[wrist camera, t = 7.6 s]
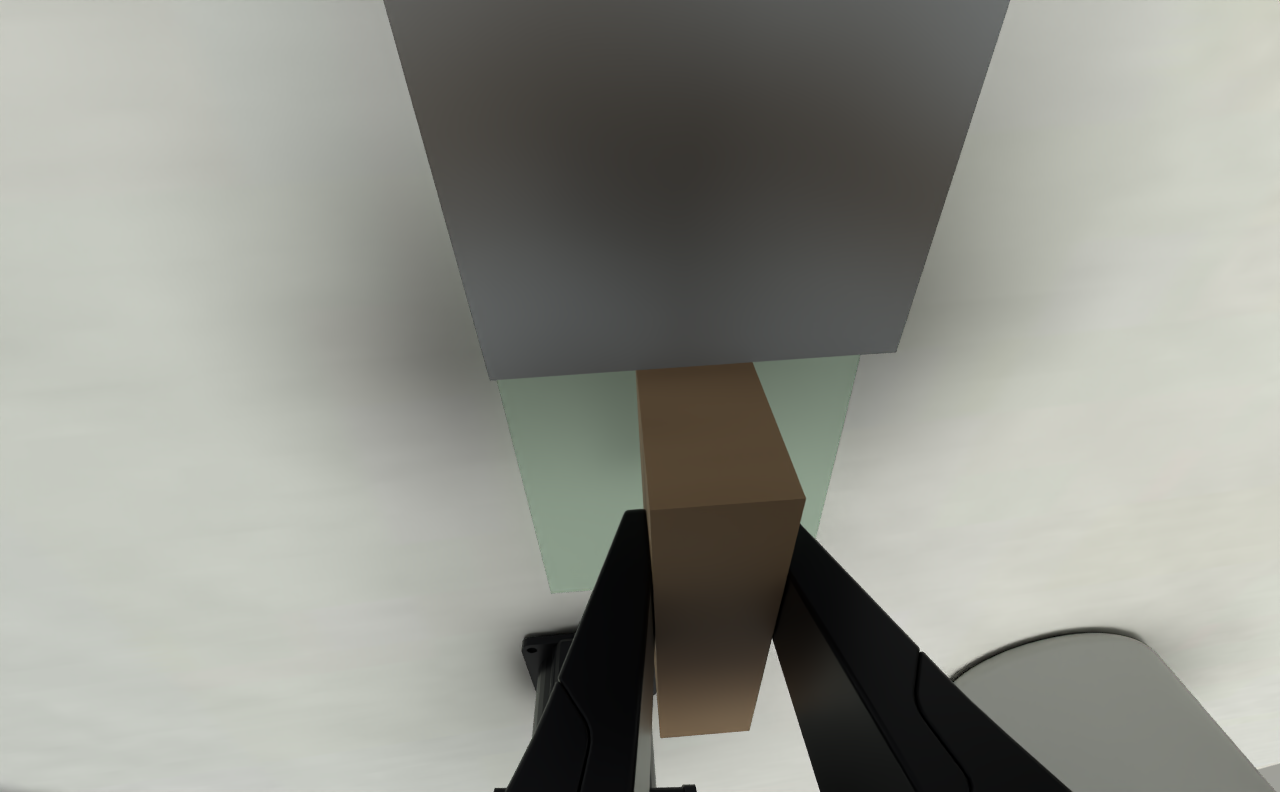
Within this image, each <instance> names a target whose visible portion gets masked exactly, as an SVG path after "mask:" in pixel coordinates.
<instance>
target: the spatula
mask: <svg viewBox="0 0 1280 792" xmlns="http://www.w3.org/2000/svg"><path fill="white" fill-rule="evenodd" d="M383 1H384V4H385V8H386V11H387V15H388V18H389V22H390V26H391V29H392V33H393V36H394V40H395V43H396V47H397V51H398V54H399V58H400V61H401V65H402V68H403V72H404V75H405V79H406V83H407V86H408V90H409V93H410V97H411V100H412V104H413V108H414V111H415V115H416V118H417V122H418V125H419V129H420V133H421V136H422V140H423V143H424V147H425V150H426V154H427V158H428V161H429V165H430V168H431V172H432V175H433V179H434V183H435V186H436V190H437V193H438V197H439V200H440V204H441V207H442V211H443V215H444V218H445V222H446V225H447V229H448V232H449V236H450V240H451V243H452V247H453V250H454V254H455V257H456V261H457V265H458V268H459V272H460V275H461V279H462V282H463V286H464V290H465V293H466V297H467V300H468V304H469V307H470V311H471V315H472V318H473V322H474V325H475V329H476V332H477V336H478V339H479V343H480V347H481V350H482V354H483V357H484V361H485V364H486V368H487V372H488V375H489V379H490V381H491V380H505V379H519V378H534V377H548V376H562V375H577V374H591V373H605V372H620V371H634V370H635V372H636V389H637V406H638V424H639V441H640V458H641V475H642V493H643V509H645V510H646V515H647V525H648V536H649V546H650V557H651V567H652V582H653V602H654V622H655V655H654V665H655V678H656V690H657V703H658V715H659V727H660V738H668V737H680V736H692V735H703V734H715V733H727V732H739V731H749V730H750V726H751V722H752V718H753V713H754V709H755V705H756V701H757V697H758V693H759V689H760V685H761V681H762V677H763V673H764V669H765V665H766V660H767V656H768V652H769V648H770V644H771V640H772V636H773V632H774V628H775V624H776V620H777V616H778V612H779V607H780V603H781V599H782V595H783V591H784V587H785V583H786V579H787V575H788V571H789V567H790V563H791V559H792V554H793V550H794V546H795V542H796V538H797V534H798V530H799V526H800V522H801V518H802V514H803V510H804V506H805V501H806V497H805V494H804V492H803V489H802V486H801V484H800V481H799V479H798V476H797V474H796V471H795V469H794V466H793V464H792V461H791V458H790V456H789V453H788V451H787V448H786V446H785V443H784V441H783V438H782V436H781V433H780V431H779V428H778V425H777V423H776V420H775V418H774V415H773V413H772V410H771V408H770V405H769V403H768V400H767V398H766V395H765V392H764V390H763V387H762V385H761V382H760V380H759V377H758V375H757V372H756V370H755V367H754V364H753V362H763V361H777V360H792V359H806V358H820V357H835V356H849V355H863V354H878V353H892V352H896V351H897V348H898V345H899V342H900V339H901V335H902V332H903V329H904V326H905V323H906V320H907V317H908V314H909V311H910V308H911V305H912V302H913V298H914V295H915V292H916V289H917V286H918V283H919V280H920V277H921V274H922V271H923V268H924V265H925V261H926V258H927V255H928V252H929V249H930V246H931V243H932V240H933V237H934V234H935V231H936V227H937V224H938V221H939V218H940V215H941V212H942V209H943V206H944V203H945V200H946V197H947V194H948V190H949V187H950V184H951V181H952V178H953V175H954V172H955V169H956V166H957V163H958V160H959V157H960V153H961V150H962V147H963V144H964V141H965V138H966V135H967V132H968V129H969V126H970V123H971V119H972V116H973V113H974V110H975V107H976V104H977V101H978V98H979V95H980V92H981V89H982V86H983V82H984V79H985V76H986V73H987V70H988V67H989V64H990V61H991V58H992V55H993V52H994V49H995V45H996V42H997V39H998V36H999V33H1000V30H1001V27H1002V24H1003V21H1004V18H1005V15H1006V11H1007V8H1008V5H1009V2H1010V0H383Z"/></svg>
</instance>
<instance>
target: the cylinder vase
mask: <svg viewBox="0 0 1280 792" xmlns="http://www.w3.org/2000/svg"><path fill="white" fill-rule="evenodd" d="M953 683H954V684H955V685H956V686H957V687H958V688H959V689H960V690H961V691H962V692H963V693H964V694H965V695H966V696H967V697H968V698H969V699H970V700H971V701H972V702H974V703H975V704H976V705H977V706H978V707H979V708H980V709H981V710H982V711H983V712H984V713H985V714H987V715H988V716H989V717H990V718H991V719H992V720H993V721H994V722H995V723H996V724H997V725H999V726H1000V727H1001V728H1002V729H1003V730H1004V731H1005V732H1006V733H1007V734H1008V735H1010V736H1011V737H1012V738H1013V739H1014V740H1015V741H1016V742H1017V743H1019V744H1020V745H1021V746H1022V747H1023V748H1024V749H1025V750H1026V751H1028V752H1029V753H1030V754H1031V755H1032V756H1033V757H1034V758H1035V759H1037V760H1038V761H1039V762H1040V763H1041V764H1042V765H1043V766H1044V767H1046V768H1047V769H1048V770H1049V771H1050V772H1051V773H1052V774H1053V775H1055V776H1056V777H1057V778H1058V779H1059V780H1060V781H1061V782H1062V783H1064V784H1065V785H1066V786H1067V787H1068V788H1069V789H1070V790H1071V791H1073V792H1276V791H1275V790H1274V789H1273V788H1272V787H1271V785H1270V784H1269V783H1268V782H1267V781H1266V780H1265V778H1264V777H1263V776H1262V775H1261V774H1260V773H1259V772H1258V770H1257V769H1256V768H1255V767H1254V766H1253V764H1252V763H1251V762H1250V761H1249V760H1248V759H1247V757H1246V756H1245V755H1244V754H1243V753H1242V752H1241V750H1240V749H1239V748H1238V747H1237V746H1236V745H1235V744H1234V742H1233V741H1232V740H1231V739H1230V738H1229V737H1228V735H1227V734H1226V733H1225V732H1224V731H1223V730H1222V728H1221V727H1220V726H1219V725H1218V724H1217V723H1216V721H1215V720H1214V719H1213V718H1212V717H1211V716H1210V714H1209V713H1208V712H1207V711H1206V710H1205V709H1204V707H1203V706H1202V705H1201V704H1200V703H1199V702H1198V701H1197V699H1196V698H1195V697H1194V696H1193V695H1192V694H1191V692H1190V691H1189V690H1188V689H1187V688H1186V687H1185V685H1184V684H1183V683H1182V682H1181V681H1180V680H1179V678H1178V677H1177V676H1176V675H1175V674H1174V673H1173V671H1172V670H1171V669H1170V668H1169V667H1168V666H1167V665H1166V663H1165V662H1164V661H1163V660H1162V659H1161V658H1160V656H1159V655H1158V654H1157V653H1156V652H1155V651H1154V650H1153V649H1151V648H1150V647H1149V646H1147V645H1145V644H1144V643H1142V642H1140V641H1138V640H1135V639H1133V638H1129V637H1126V636H1122V635H1116V634H1108V633H1081V634H1071V635H1064V636H1058V637H1052V638H1048V639H1043V640H1039V641H1035V642H1032V643H1028V644H1025V645H1022V646H1019V647H1016V648H1013V649H1010V650H1008V651H1005V652H1003V653H1000V654H998V655H996V656H993V657H991V658H989V659H987V660H985V661H983V662H981V663H980V664H978V665H976V666H974V667H973V668H971V669H970V670H968V671H967V672H965V673H964V674H963V675H961V676H960V677H959V678H958V679H957V680H955V681H954V682H953Z"/></svg>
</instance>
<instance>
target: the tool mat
mask: <svg viewBox="0 0 1280 792" xmlns="http://www.w3.org/2000/svg"><path fill="white" fill-rule="evenodd" d="M859 359H860V355H849V356H835V357H820V358H806V359H792V360H777V361H763V362H753V364H754V367H755V370H756V372H757V375H758V377H759V380H760V382H761V385H762V387H763V390H764V392H765V395H766V398H767V400H768V403H769V405H770V408H771V410H772V413H773V415H774V418H775V420H776V423H777V425H778V428H779V431H780V433H781V436H782V438H783V441H784V443H785V446H786V448H787V451H788V453H789V456H790V458H791V461H792V464H793V466H794V469H795V471H796V474H797V476H798V479H799V481H800V484H801V486H802V489H803V492H804V494H805V497H806V501H805V506H804V510H803V514H802V518H801V522H800V524H801V525H802V526H803V527H804V528H805V529H806V530H807V531H808V532H809V533H810V534H811V535H812V536H813V537H814V538H815V539H816V535H817V531H818V527H819V522H820V518H821V514H822V510H823V506H824V502H825V498H826V494H827V490H828V486H829V482H830V477H831V473H832V469H833V465H834V461H835V457H836V453H837V449H838V445H839V441H840V437H841V433H842V428H843V424H844V420H845V416H846V412H847V408H848V404H849V400H850V396H851V392H852V388H853V383H854V379H855V375H856V371H857V367H858V363H859ZM497 383H498V387H499V391H500V395H501V399H502V403H503V406H504V410H505V414H506V418H507V422H508V426H509V430H510V434H511V438H512V442H513V446H514V450H515V453H516V457H517V461H518V465H519V469H520V473H521V477H522V481H523V485H524V489H525V493H526V496H527V500H528V504H529V508H530V512H531V516H532V520H533V524H534V528H535V532H536V536H537V540H538V543H539V547H540V551H541V555H542V559H543V563H544V567H545V571H546V575H547V579H548V583H549V587H550V590H551V593H564V592H576V591H588V590H593V589H594V586H595V584H596V581H597V579H598V576H599V574H600V571H601V569H602V566H603V564H604V561H605V559H606V556H607V554H608V551H609V549H610V546H611V544H612V541H613V539H614V536H615V534H616V531H617V529H618V526H619V524H620V521H621V519H622V516H623V514H624V512H625V511H626V510H632V509H643V493H642V475H641V458H640V441H639V424H638V406H637V389H636V372H635V370H634V371H620V372H605V373H591V374H577V375H562V376H548V377H534V378H519V379H505V380H497Z"/></svg>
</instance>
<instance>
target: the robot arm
mask: <svg viewBox="0 0 1280 792" xmlns="http://www.w3.org/2000/svg"><path fill="white" fill-rule="evenodd" d="M772 639H773V642H774V645H775V649H776V652H777V655H778V658H779V661H780V665H781V668H782V671H783V674H784V677H785V681H786V684H787V687H788V690H789V693H790V697H791V700H792V703H793V706H794V709H795V713H796V716H797V719H798V722H799V726H800V729H801V732H802V735H803V738H804V742H805V745H806V748H807V751H808V754H809V758H810V761H811V764H812V767H813V770H814V774H815V777H816V780H817V783H818V786H819V790H820V792H1073V791H1071V790H1070V789H1069V788H1068V787H1067V786H1066V785H1065V784H1064V783H1062V782H1061V781H1060V780H1059V779H1058V778H1057V777H1056V776H1055V775H1053V774H1052V773H1051V772H1050V771H1049V770H1048V769H1047V768H1046V767H1044V766H1043V765H1042V764H1041V763H1040V762H1039V761H1038V760H1037V759H1035V758H1034V757H1033V756H1032V755H1031V754H1030V753H1029V752H1028V751H1026V750H1025V749H1024V748H1023V747H1022V746H1021V745H1020V744H1019V743H1017V742H1016V741H1015V740H1014V739H1013V738H1012V737H1011V736H1010V735H1008V734H1007V733H1006V732H1005V731H1004V730H1003V729H1002V728H1001V727H1000V726H999V725H997V724H996V723H995V722H994V721H993V720H992V719H991V718H990V717H989V716H988V715H987V714H985V713H984V712H983V711H982V710H981V709H980V708H979V707H978V706H977V705H976V704H975V703H974V702H972V701H971V700H970V699H969V698H968V697H967V696H966V695H965V694H964V693H963V692H962V691H961V690H960V689H959V688H958V687H957V686H956V685H955V684H954V683H953V682H952V681H951V680H950V679H949V678H948V677H947V676H946V675H945V674H944V673H943V672H942V671H941V670H940V669H939V667H938V666H937V665H936V664H935V663H934V662H933V661H932V660H931V659H930V658H929V657H928V656H927V655H926V654H925V653H924V652H919V651H920V649H919V647H918V646H917V645H916V644H915V643H914V642H913V641H912V639H911V638H910V637H909V636H908V635H907V634H906V633H905V632H904V631H903V630H902V629H901V628H900V627H899V626H898V625H897V624H896V623H895V622H894V621H893V620H892V619H891V618H890V617H889V616H888V614H887V613H886V612H885V611H884V610H883V609H882V608H881V607H880V606H879V605H878V604H877V603H876V602H875V601H874V600H873V599H872V598H871V597H870V596H869V595H868V594H867V593H866V592H865V590H864V589H863V588H862V587H861V586H860V585H859V584H858V583H857V582H856V581H855V580H854V579H853V578H852V577H851V576H850V575H849V574H848V573H847V572H846V571H845V570H844V569H843V568H842V566H841V565H840V564H839V563H838V562H837V561H836V560H835V559H834V558H833V557H832V556H831V555H830V554H829V553H828V552H827V551H826V550H825V549H824V548H823V547H822V546H821V545H820V544H819V542H818V541H817V540H816V539H815V538H814V537H813V536H812V535H811V534H810V533H809V532H808V531H807V530H806V529H805V528H804V527H803V526H802V525H801V524H800V526H799V530H798V534H797V538H796V542H795V546H794V550H793V554H792V559H791V563H790V567H789V571H788V575H787V579H786V583H785V587H784V591H783V595H782V599H781V603H780V607H779V612H778V616H777V620H776V624H775V628H774V632H773V636H772ZM522 654H523V656H524V659H525V662H526V665H527V668H528V670H529V673H530V676H531V679H532V682H533V685H534V687H535V690H536V701H535V712H534V723H533V734H532V739H531V741H530V743H529V745H528V747H527V749H526V751H525V753H524V755H523V757H522V759H521V761H520V763H519V765H518V767H517V769H516V771H515V773H514V775H513V777H512V779H511V781H510V783H509V785H508V786H507V788H495V789H494V792H697V791H696V786H695V785H682V787H667V788H656V777H655V764H654V750H653V736H652V708H653V695H655V694H656V692H657V690H656V678H655V665H654V655H655V622H654V602H653V582H652V567H651V557H650V546H649V536H648V525H647V515H646V510H645V509H632V510H626V511H625V512H624V514H623V516H622V519H621V521H620V524H619V526H618V529H617V531H616V534H615V536H614V539H613V541H612V544H611V546H610V549H609V551H608V554H607V556H606V559H605V561H604V564H603V566H602V569H601V571H600V574H599V576H598V579H597V581H596V584H595V586H594V589H593V591H592V594H591V596H590V599H589V601H588V604H587V606H586V609H585V611H584V614H583V616H582V618H581V621H580V623H579V626H578V628H577V631H576V633H575V634H564V635H552V636H540V637H530V638H526V639H524V640H523V643H522Z"/></svg>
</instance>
